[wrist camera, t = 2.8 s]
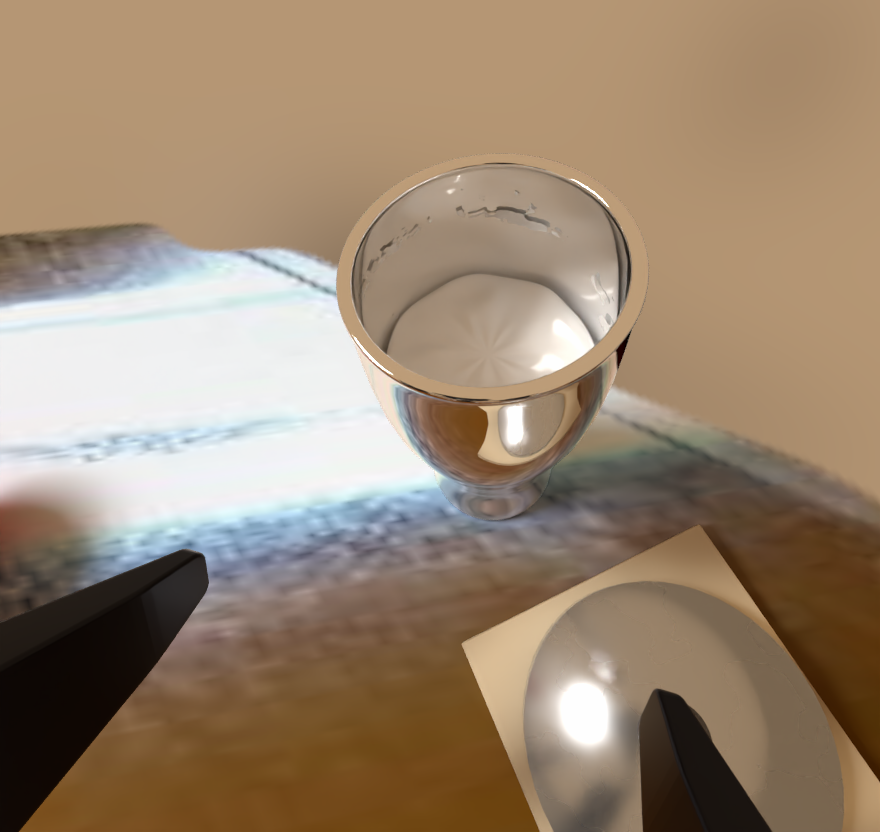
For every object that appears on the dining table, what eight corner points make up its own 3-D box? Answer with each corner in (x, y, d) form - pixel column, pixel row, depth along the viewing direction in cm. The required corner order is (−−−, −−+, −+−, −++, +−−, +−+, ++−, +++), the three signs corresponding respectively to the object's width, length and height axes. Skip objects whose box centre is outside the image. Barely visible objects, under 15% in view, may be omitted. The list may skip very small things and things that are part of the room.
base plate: (902, 831, 16) (921, 842, 15) (611, 996, 15) (617, 1016, 14) (692, 526, 21) (699, 524, 20) (462, 641, 20) (461, 643, 19)
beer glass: (519, 382, 25) (550, 107, 11) (585, 493, 22) (740, 314, 8) (405, 434, 24) (288, 217, 10) (459, 554, 21) (394, 475, 8)
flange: (897, 831, 15) (924, 847, 14) (622, 989, 15) (631, 1016, 14) (697, 539, 20) (707, 536, 19) (476, 650, 19) (475, 653, 18)
